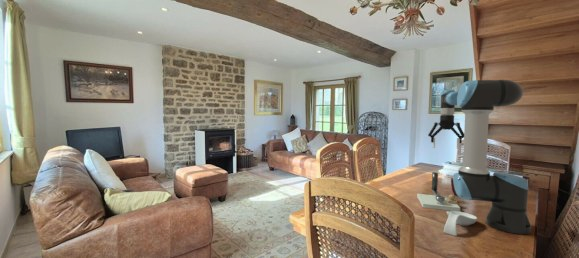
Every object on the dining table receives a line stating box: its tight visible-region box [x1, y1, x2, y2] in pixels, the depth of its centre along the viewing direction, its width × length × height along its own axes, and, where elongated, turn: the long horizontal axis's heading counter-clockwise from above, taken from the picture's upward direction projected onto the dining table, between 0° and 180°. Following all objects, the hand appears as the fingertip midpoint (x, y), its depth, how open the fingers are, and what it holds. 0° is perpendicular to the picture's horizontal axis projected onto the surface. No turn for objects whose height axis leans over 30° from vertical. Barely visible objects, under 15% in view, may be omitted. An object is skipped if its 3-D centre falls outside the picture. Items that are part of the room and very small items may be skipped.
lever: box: [431, 171, 445, 201], centre depth 140 cm, size 16×4×12 cm, turn 162°
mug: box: [450, 177, 458, 197], centre depth 154 cm, size 11×8×10 cm
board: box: [416, 193, 461, 212], centre depth 140 cm, size 18×17×6 cm
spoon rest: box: [443, 210, 479, 237], centre depth 112 cm, size 24×12×7 cm, turn 134°
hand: (445, 148), depth 161 cm, fingers open, 13 cm apart
